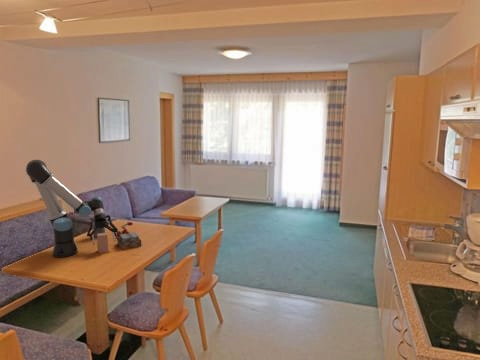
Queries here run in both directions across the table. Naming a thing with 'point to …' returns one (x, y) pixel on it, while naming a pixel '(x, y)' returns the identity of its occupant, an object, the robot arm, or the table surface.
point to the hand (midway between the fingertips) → (104, 242)
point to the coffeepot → (101, 230)
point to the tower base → (129, 244)
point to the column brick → (102, 242)
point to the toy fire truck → (124, 229)
